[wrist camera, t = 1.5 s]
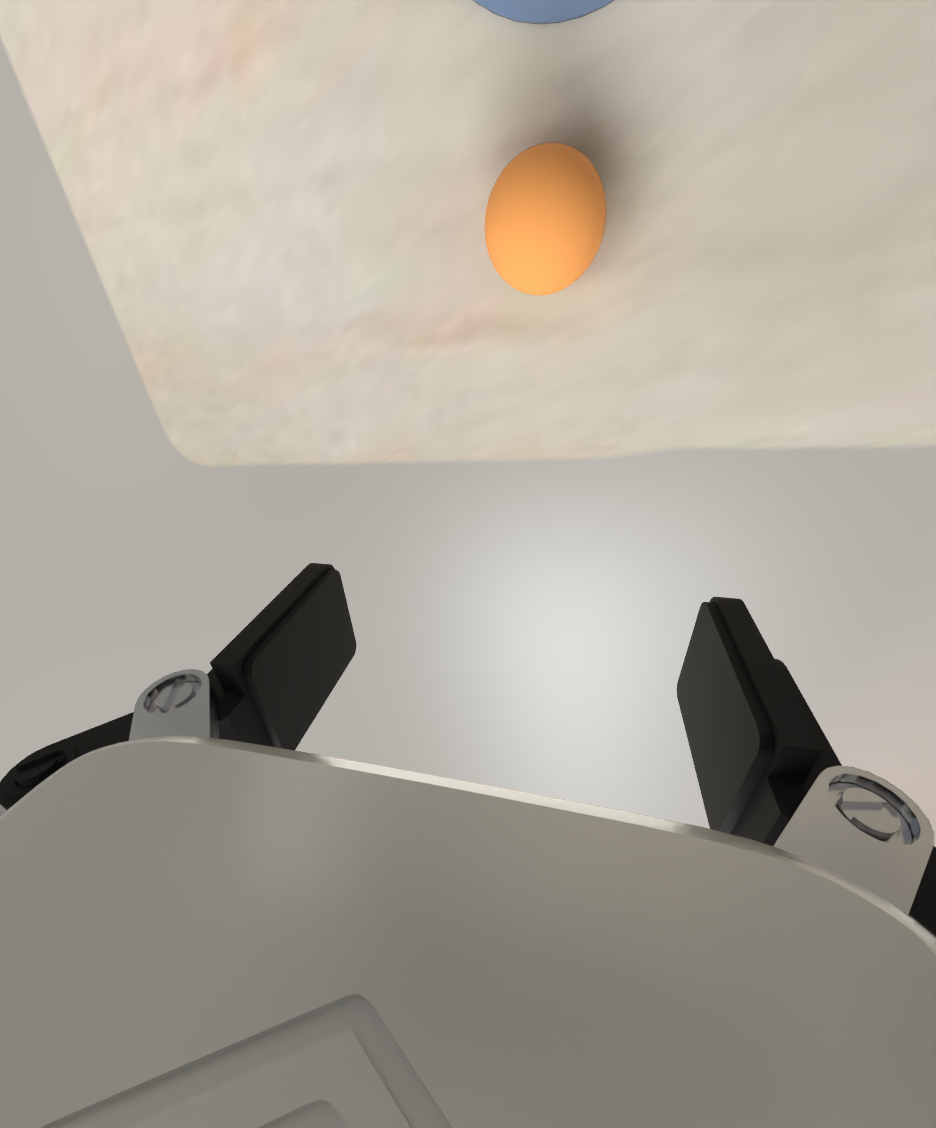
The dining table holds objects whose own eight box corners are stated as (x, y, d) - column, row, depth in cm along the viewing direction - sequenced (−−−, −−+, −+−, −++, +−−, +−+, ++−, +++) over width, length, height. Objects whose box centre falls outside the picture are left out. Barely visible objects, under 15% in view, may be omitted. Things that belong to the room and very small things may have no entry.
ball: (495, 166, 19) (471, 132, 15) (610, 154, 18) (619, 114, 14) (495, 296, 22) (475, 297, 18) (596, 292, 21) (600, 293, 17)
